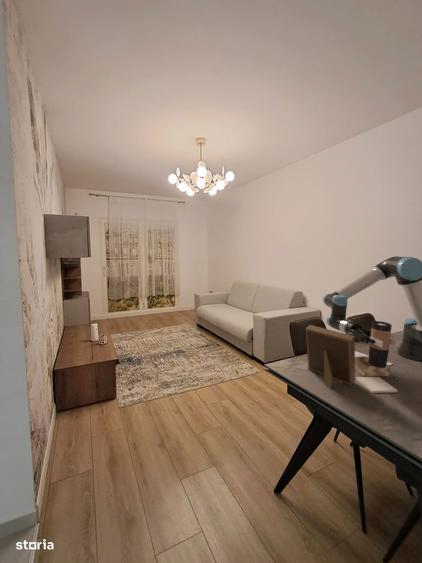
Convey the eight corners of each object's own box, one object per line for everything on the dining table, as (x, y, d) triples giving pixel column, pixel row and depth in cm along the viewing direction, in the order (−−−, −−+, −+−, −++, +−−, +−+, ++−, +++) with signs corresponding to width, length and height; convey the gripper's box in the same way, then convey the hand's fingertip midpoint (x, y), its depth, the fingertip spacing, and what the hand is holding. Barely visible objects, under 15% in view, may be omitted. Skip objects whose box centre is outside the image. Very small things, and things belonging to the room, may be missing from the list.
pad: (378, 378, 129) (378, 376, 128) (397, 392, 117) (397, 390, 117) (355, 379, 128) (355, 377, 128) (372, 392, 116) (372, 390, 116)
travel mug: (390, 369, 116) (395, 326, 114) (371, 367, 118) (376, 325, 115) (382, 361, 124) (387, 321, 121) (365, 360, 125) (369, 320, 123)
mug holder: (371, 364, 144) (372, 356, 144) (389, 376, 132) (390, 366, 131) (349, 364, 144) (350, 356, 143) (364, 376, 131) (365, 367, 130)
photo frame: (312, 366, 141) (315, 322, 137) (354, 382, 125) (359, 333, 121) (297, 375, 131) (300, 328, 127) (341, 394, 115) (346, 341, 111)
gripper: (365, 333, 139) (406, 350, 117) (333, 336, 135) (369, 353, 113) (367, 320, 138) (408, 334, 116) (335, 322, 134) (371, 337, 112)
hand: (389, 344), depth 115 cm, fingers closed on travel mug, 7 cm apart
